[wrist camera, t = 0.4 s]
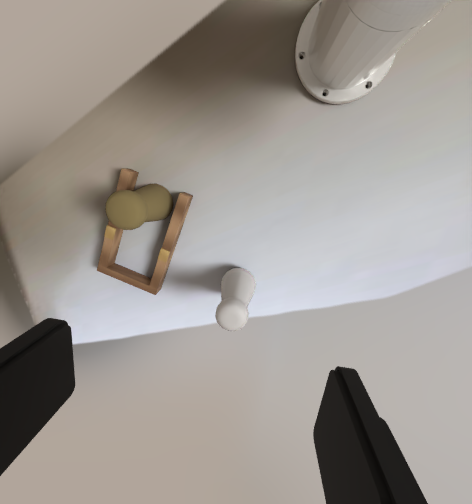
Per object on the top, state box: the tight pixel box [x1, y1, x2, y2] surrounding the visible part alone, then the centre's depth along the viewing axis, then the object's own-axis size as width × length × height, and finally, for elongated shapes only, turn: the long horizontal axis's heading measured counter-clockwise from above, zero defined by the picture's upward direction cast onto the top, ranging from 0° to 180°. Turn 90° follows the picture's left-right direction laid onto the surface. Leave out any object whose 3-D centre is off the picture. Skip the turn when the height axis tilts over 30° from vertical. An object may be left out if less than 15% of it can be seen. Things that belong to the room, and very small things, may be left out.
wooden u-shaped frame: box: [97, 169, 193, 295], centre depth 43 cm, size 18×11×3 cm, turn 158°
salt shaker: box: [216, 268, 256, 331], centre depth 39 cm, size 6×6×13 cm
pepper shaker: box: [105, 184, 173, 230], centre depth 37 cm, size 6×6×11 cm
